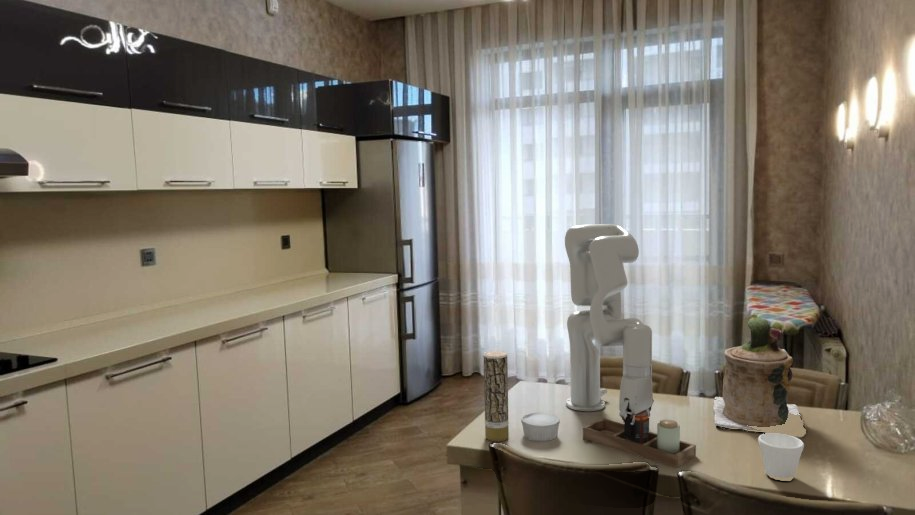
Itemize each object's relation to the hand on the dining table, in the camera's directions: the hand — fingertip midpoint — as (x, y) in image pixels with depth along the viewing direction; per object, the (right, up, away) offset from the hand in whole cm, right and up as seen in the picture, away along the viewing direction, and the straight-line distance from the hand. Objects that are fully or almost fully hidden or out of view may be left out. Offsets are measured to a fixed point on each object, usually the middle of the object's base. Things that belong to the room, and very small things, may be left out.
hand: (636, 433), depth 175 cm
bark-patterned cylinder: (-38, -4, +10) cm, 39 cm away
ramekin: (-25, -4, +11) cm, 28 cm away
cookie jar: (+42, -1, +19) cm, 46 cm away
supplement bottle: (0, -3, 0) cm, 3 cm away
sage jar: (+6, -4, -7) cm, 10 cm away
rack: (0, -4, 0) cm, 4 cm away
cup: (+30, -6, -19) cm, 36 cm away
